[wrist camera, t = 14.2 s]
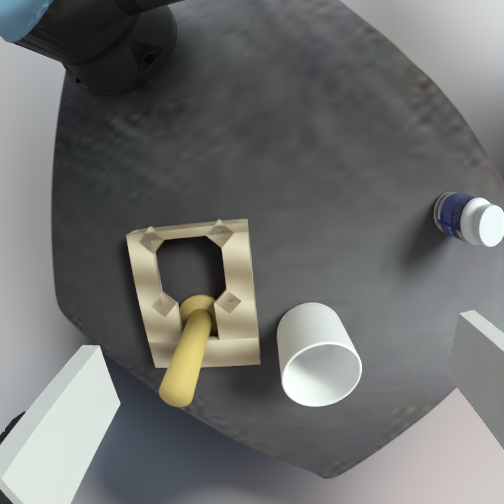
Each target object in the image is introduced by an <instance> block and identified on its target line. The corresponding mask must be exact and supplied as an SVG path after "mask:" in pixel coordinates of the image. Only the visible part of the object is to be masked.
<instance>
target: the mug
mask: <svg viewBox="0 0 504 504" xmlns="http://www.w3.org/2000/svg"><path fill="white" fill-rule="evenodd" d="M277 344H278V353H279V362H280V372H281V381H282V387H283V389H284V391H285V393H286V394H287V395H288V396H289V397H290V398H291V399H292V400H293V401H295V402H297V403H299V404H302V405H305V406H313V407H317V406H326V405H329V404H332V403H335V402H337V401H339V400H341V399H343V398H344V397H346V396H347V395H348V394H349V393H350V392H352V390H353V389H354V388H355V387H356V385H357V384H358V382H359V379H360V377H361V372H362V364H361V360H360V358H359V356H358V354H357V352H356V350H355V348H354V346H353V344H352V342H351V340H350V338H349V336H348V334H347V332H346V330H345V328H344V326H343V325H342V323H341V321H340V319H339V317H338V316H337V314H336V313H335V312H334V311H333V310H332V309H331V308H329V307H328V306H326V305H323V304H320V303H304V304H300V305H297V306H295V307H293V308H292V309H290V310H289V311H288V312H287V313H286V314H285V315H284V316H283V317H282V319H281V321H280V323H279V325H278V329H277Z"/></svg>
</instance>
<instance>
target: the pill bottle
mask: <svg viewBox="0 0 504 504" xmlns="http://www.w3.org/2000/svg"><path fill="white" fill-rule="evenodd" d="M434 220H435V223H436V225H437V227H438V228H439V229H440V230H441V231H442V232H444V233H446V234H448V235H451V236H453V237H455V238H458V239H460V240H462V241H465V242H467V243H469V244H472V245H481V244H482V245H485V246H487V247H493V246H495V245H497V244H498V243H499V242H500V241H501V239H502V237H503V235H504V213H503V211H502V209H501V208H499V207H498V206H495V205H492V204H490V203H489V202H488V201H487V200H485V199H483V198H480V197H475V196H470V195H465V194H461V193H456V192H447V193H444V194H443V195H441V196H440V197H439V199H438V200H437V202H436V204H435V207H434Z"/></svg>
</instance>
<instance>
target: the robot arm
mask: <svg viewBox="0 0 504 504" xmlns="http://www.w3.org/2000/svg"><path fill="white" fill-rule="evenodd" d="M180 1H183V0H0V36H1V37H2V38H3V39H4V40H5V41H7V42H10V43H14V44H16V45H19V46H22V47H24V48H27V49H30V50H32V51H35V52H37V53H39V54H42V55H44V56H47V57H49V58H52V59H54V60H57V61H59V62H61V63H62V64H63V66H64V68H65V69H66V71H67V72H68V74H69V76H70V77H71V78H72V80H73V81H74V82H75V83H76V84H77V85H79V86H80V87H82V88H83V89H85V90H88V91H90V92H93V93H95V94H99V95H118V94H122V93H126V92H129V91H131V90H133V89H136V88H138V87H139V86H141V85H143V84H144V83H146V82H147V81H148V80H150V79H151V78H152V77H153V76H154V75H155V74H157V72H158V71H159V70H160V69H161V68H162V67H163V66H164V64H165V63H166V61H167V60H168V58H169V57H170V55H171V53H172V51H173V48H174V45H175V42H176V37H177V25H176V20H175V18H174V15H173V13H172V12H171V10H170V8H169V7H168V5H169V4H172V3H176V2H180ZM446 374H447V375H448V376H449V378H450V379H451V380H452V381H453V383H454V384H455V385H456V386H457V388H458V389H459V390H460V391H461V393H462V394H463V395H464V397H465V398H466V399H467V400H468V402H469V403H470V404H471V406H472V407H473V408H474V410H475V411H476V412H477V413H478V415H479V416H480V418H481V419H482V420H483V422H484V423H485V424H486V426H487V427H488V428H489V430H490V431H491V432H492V434H493V435H494V436H495V438H496V439H497V441H498V442H499V443H500V445H501V446H502V448H503V449H504V333H503V332H501V331H500V330H499V329H498V328H496V327H495V326H494V325H493V324H491V323H490V322H489V321H487V320H486V319H485V318H484V317H482V316H481V315H480V314H478V313H477V312H476V311H474V310H472V311H468V312H463V313H459V317H458V322H457V328H456V333H455V338H454V343H453V348H452V352H451V357H450V361H449V365H448V369H447V373H446ZM119 405H120V401H119V399H118V396H117V394H116V391H115V388H114V386H113V383H112V380H111V378H110V375H109V372H108V369H107V367H106V364H105V361H104V358H103V355H102V352H101V349H100V346H91V345H90V346H89V345H82V347H81V348H80V349H79V350H78V351H77V352H76V353H75V354H74V356H73V357H72V358H71V359H70V360H69V361H68V363H67V364H66V365H65V366H64V367H63V368H62V370H61V371H60V372H59V373H58V374H57V375H56V376H55V378H54V379H53V380H52V381H51V382H50V384H49V385H48V386H47V387H46V388H45V389H44V391H43V392H42V393H41V394H40V395H39V397H38V398H37V399H36V400H35V402H34V403H33V404H32V406H31V407H30V408H29V409H28V411H26V412H23V413H21V414H20V415H18V416H17V417H16V418H14V419H13V420H12V421H11V422H10V424H9V425H8V426H7V427H6V429H5V432H2V434H1V435H0V504H71V501H72V499H73V497H74V495H75V493H76V491H77V489H78V487H79V485H80V483H81V481H82V478H83V476H84V474H85V472H86V470H87V468H88V466H89V464H90V462H91V460H92V458H93V456H94V454H95V452H96V450H97V448H98V446H99V444H100V442H101V440H102V438H103V436H104V434H105V432H106V430H107V429H108V427H109V425H110V423H111V421H112V419H113V417H114V415H115V413H116V411H117V409H118V407H119Z"/></svg>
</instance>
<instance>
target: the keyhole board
mask: <svg viewBox="0 0 504 504" xmlns="http://www.w3.org/2000/svg"><path fill="white" fill-rule="evenodd" d="M196 236H207V237H208V238H210V239H211V240H212V241H213V242H215V243H216V244H217V245H218V246H220V247H221V248H222V255H223V263H224V272H225V280H226V289H225V290H224V291H223V292H222V293H221V295H220V296H219V297H218V298H217V299H216V300H215V301H214V307H215V314H216V321H217V327H218V334H219V336H213V337H209V338H208V342H207V345H206V349H205V353H204V356H203V360H202V364H201V367H222V366H242V365H257V364H261V362H260V343H259V332H258V322H257V312H256V301H255V291H254V281H253V270H252V260H251V250H250V239H249V229H248V218H244V219H233V220H223V221H222V220H220V219H219V220H218V221H213V222H203V223H193V224H183V225H174V226H165V227H156V228H153V227H152V226H151V227H149V228H147V229H138V230H134V231H133V232H131V233H129V234H127V235H126V238H127V243H128V249H129V255H130V260H131V266H132V271H133V276H134V281H135V286H136V291H137V295H138V300H139V304H140V309H141V313H142V317H143V322H144V326H145V330H146V334H147V338H148V342H149V345H150V349H151V353H152V357H153V360H154V364H155V367H156V368H168V366H169V364H170V362H171V359H172V357H173V354H174V352H175V350H176V347H177V345H178V343H179V340H180V338H181V335H182V333H183V326H182V321H181V316H180V311H179V305H178V302H176V301H175V300H173V299H172V298H171V297H170V296H168V295H167V294H166V293H164V292H163V291H162V286H161V280H160V275H159V269H158V263H157V257H156V251H157V249H158V248H159V247H160V245H161V244H162V243H163V241H164V240H166V239H176V238H186V237H196Z"/></svg>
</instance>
